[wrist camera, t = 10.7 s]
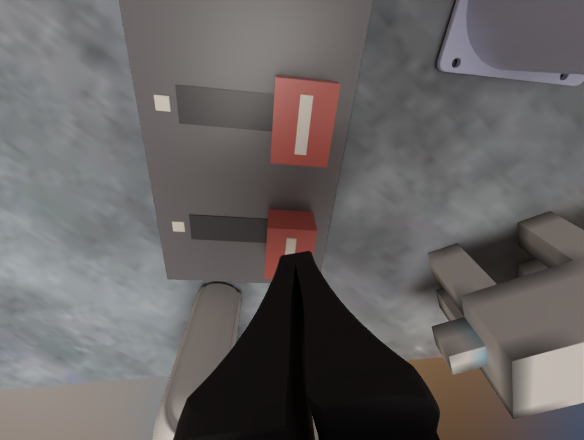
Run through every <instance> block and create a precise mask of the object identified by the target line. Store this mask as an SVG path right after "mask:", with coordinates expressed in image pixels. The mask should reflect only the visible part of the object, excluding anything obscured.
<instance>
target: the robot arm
mask: <svg viewBox="0 0 584 440" xmlns="http://www.w3.org/2000/svg"><path fill="white" fill-rule="evenodd" d="M455 58H456V59H457V64H456V66H455V67H452V62H453V60H454V59H455ZM437 68H438V69H439V70H440V71H443V72H452V73H460V74H469V75H478V76H487V77H496V78H505V79H514V80H523V81H532V82H540V83H549V84H558V85H567V86H577V85H580V84H581V83H582V82H583V81H584V0H456V3H455V6H454V9H453V12H452V16H451V19H450V22H449V25H448V28H447V31H446V35H445V38H444V41H443V44H442V47H441V51H440V54H439V57H438V60H437ZM562 73H563V76H562V77H561V78H560V75H561V74H562ZM312 416H313V419H314V423H315V426H316V429H317V432H318V438H319V440H440V439H439V437H438V434H437V427H438V422H439V417H440V411H439V407H438V405H437V402H436V400H435V399H434V397H433V395H432V393H431V392H430V390H429V388H428V387H427V385H426V384H425V382H424V381H423V379H422V378H421V376H420V375H419V374H418V372H417V371H416V369H415V368H414V367H413V366H412V365H411V364H409V363H408V362H407V361H405V360H404V359H403V358H401V357H400V356H399V355H397V354H396V353H395V352H394V351H392V350H391V349H390V348H389V347H387V346H386V345H385V344H384V343H382V342H381V341H380V340H379V339H378V338H377V337H375V336H374V335H373V334H372V333H371V332H370V331H369V330H368V329H367V328H366V327H365V326H364V325H363V324H361V323H360V322H359V321H358V320H357V319H356V317H355V316H354V315H353V314H352V313H351V312H350V311H349V310H348V309H347V308H346V307H345V305H344V304H343V303H342V302H341V301H340V299H339V298H338V297H337V296H336V294H335V293H334V292H333V290H332V289H331V288H330V286H329V285H328V283H327V282H326V280H325V279H324V277H323V276H322V274H321V272H320V271H319V269H318V267H317V265H316V263H315V261H314V258H313V255H312V252H310V251H305V252H299V253H293V254H287V255H282V256H281V257H280V259H279V262H278V265H277V268H276V271H275V274H274V277H273V279H272V281H271V284H270V286H269V288H268V291H267V293H266V295H265V297H264V299H263V301H262V303H261V305H260V306H259V308H258V310H257V312H256V314H255V315H254V317H253V319H252V320H251V322H250V323H249V325H248V327H247V328H246V330H245V331H244V333H243V334H242V335H241V337H240V338H239V340H238V341H237V342H236V344H235V345H234V346H233V348H232V349H231V350H230V352H229V353H228V354H227V355H226V356H225V358H224V359H223V360H222V361H221V362H220V364H219V365H218V366H217V367H216V368H215V370H214V371H213V372H212V373H211V374H210V375H209V376H208V377H207V378H206V379H205V380H204V381H203V382H202V383H201V385H200V386H199V387H198V388H197V389H196V390H195V391H194V392H193V393H192V394H191V395H190V396H189V397H188V398H187V399H186V402H185V405H184V408H183V410H182V412H181V415H180V418H179V421H178V424H177V428H176V431H175V435H174V438H173V440H315V437H314V428H313V419H312Z"/></svg>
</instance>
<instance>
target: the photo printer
mask: <svg viewBox="0 0 584 440" xmlns="http://www.w3.org/2000/svg"><path fill="white" fill-rule="evenodd" d="M240 306H241V298H240V293H239V292H237V291H236V289H235V288H233V287H231V286H229V285H226V284H221V283H214V284H209V285H207V286H206V287H202V288H201V289H200V291H199V293H198V295H197V297H196V299H195V302H194V305H193V309H192V311H191V315H190V318H189V321H188V324H187V327H186V330H185V333H184V336H183V339H182V342H181V345H180V348H179V351H178V354H177V357H176V360H175V363H174V366H173V369H172V372H171V375H170V378H169V381H168V384H167V387H166V389H165V393H164V395H163V399H162V401H161V404H160V407H159V410H158V413H157V418H156V421H155V426H154V431H153V438H152V440H173V438H174V435H175V431H176V428H177V424H178V421H179V418H180V415H181V412H182V410H183V408H184V405H185V402H186V399H187V398H188V397H189V396H190V395H191V394H192V393H193V392H194V391H195V390H196V389H197V388H198V387H199V386H200V385H201V383H202V382H203V381H204V380H205V379H206V378H207V377H208V376H209V375H210V374H211V373H212V372H213V371H214V370H215V368H216V367H217V366H218V365H219V364H220V362H221V361H222V360H223V359H224V358H225V356H226V355H227V354H228V353H229V352H230V350H231V349H232V348H233V346H234V345H235V344H236V338H237V331H238V323H239V315H240Z"/></svg>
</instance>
